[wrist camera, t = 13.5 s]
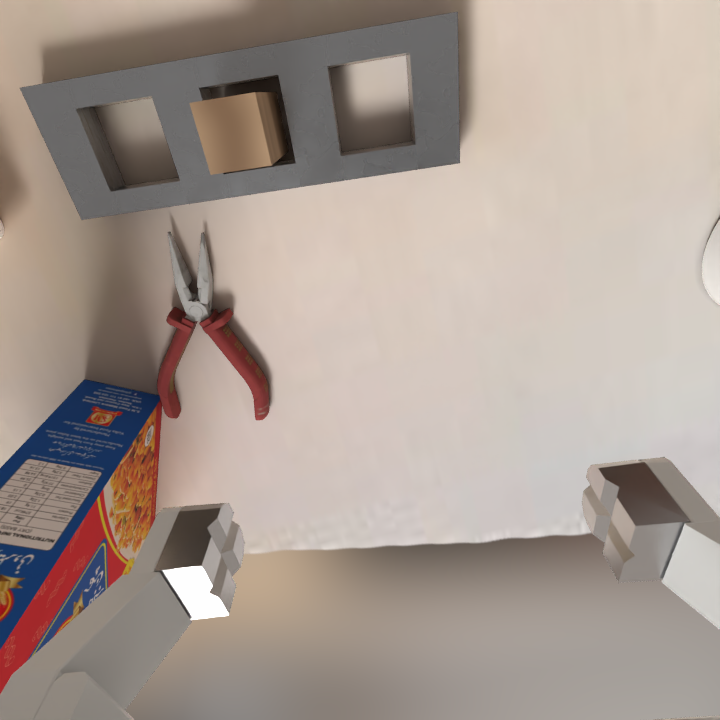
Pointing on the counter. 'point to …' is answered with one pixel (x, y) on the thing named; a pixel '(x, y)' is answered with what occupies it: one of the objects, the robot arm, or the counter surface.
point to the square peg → (240, 131)
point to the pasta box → (74, 512)
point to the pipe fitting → (1, 229)
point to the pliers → (213, 325)
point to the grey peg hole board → (302, 106)
